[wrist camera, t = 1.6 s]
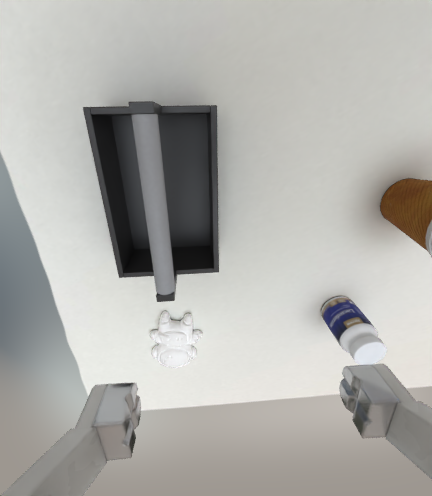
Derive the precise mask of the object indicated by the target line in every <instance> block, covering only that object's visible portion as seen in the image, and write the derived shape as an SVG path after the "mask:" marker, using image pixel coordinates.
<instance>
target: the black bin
mask: <svg viewBox="0 0 432 496" xmlns="http://www.w3.org/2000/svg"><path fill="white" fill-rule="evenodd" d="M83 110H84V115H85V119H86V124H87V129H88V134H89V138H90V143H91V148H92V152H93V157H94V162H95V166H96V171H97V176H98V180H99V185H100V190H101V195H102V199H103V204H104V209H105V213H106V218H107V223H108V227H109V232H110V237H111V242H112V246H113V251H114V256H115V260H116V265H117V270H118V274H119V278H122V277H141V276H154V278H155V285H156V291H157V295H156V297H157V302H163V301H174V300H175V290H176V280H177V274H195V273H213V272H219V250H218V168H217V106H216V105H211V106H161V105H159V104H157V103H155V102H129V107H83Z"/></svg>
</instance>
